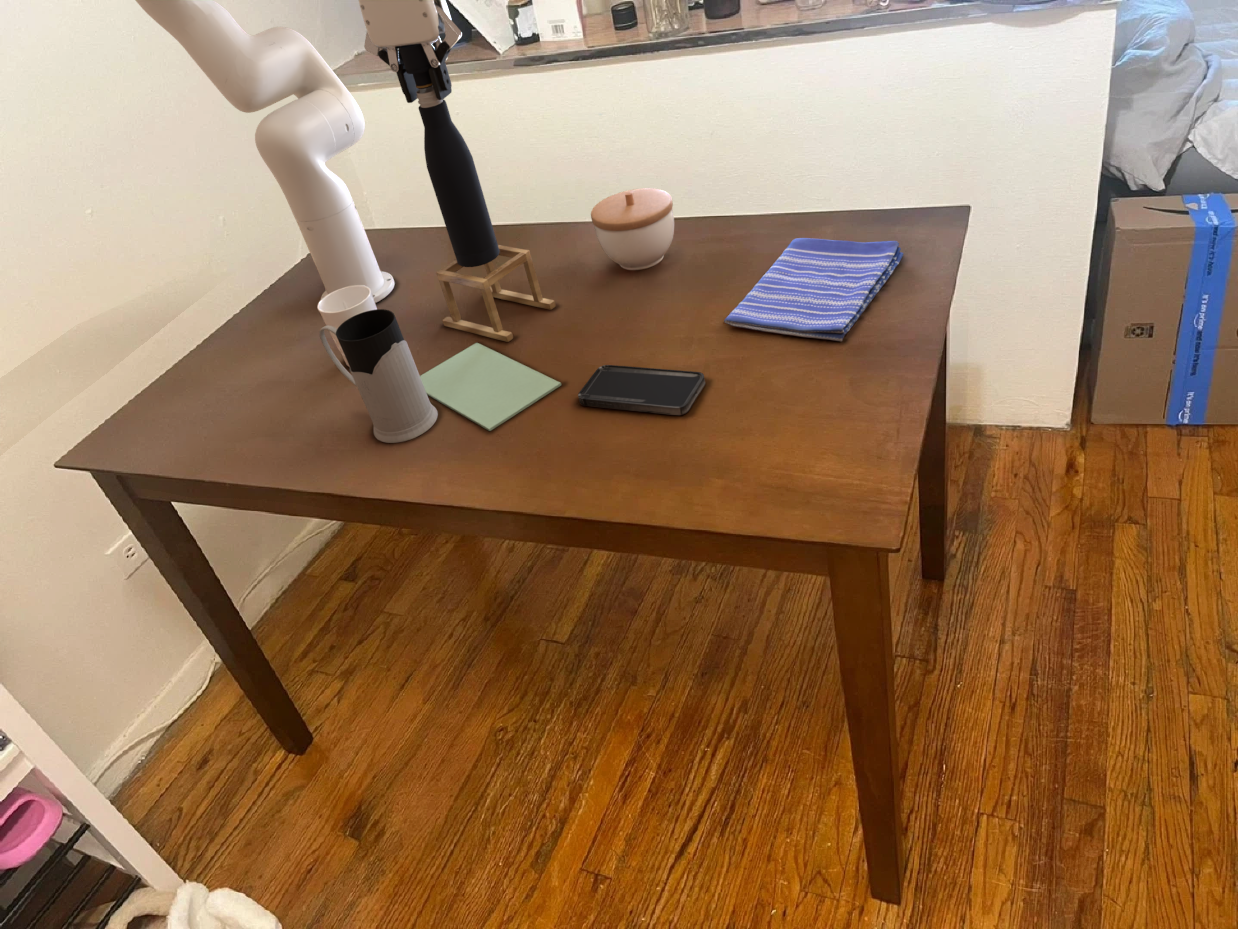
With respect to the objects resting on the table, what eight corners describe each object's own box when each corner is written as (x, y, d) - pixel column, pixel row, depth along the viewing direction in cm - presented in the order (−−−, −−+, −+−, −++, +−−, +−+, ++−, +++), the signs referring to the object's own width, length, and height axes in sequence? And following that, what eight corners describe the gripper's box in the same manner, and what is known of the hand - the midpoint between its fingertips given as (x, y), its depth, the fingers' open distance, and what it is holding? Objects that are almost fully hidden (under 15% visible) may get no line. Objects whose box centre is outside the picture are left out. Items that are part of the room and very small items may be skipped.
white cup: (404, 344, 143) (381, 285, 137) (373, 373, 138) (348, 313, 132) (363, 341, 147) (339, 284, 141) (332, 369, 141) (306, 311, 135)
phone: (600, 364, 125) (706, 372, 118) (602, 371, 126) (708, 379, 119) (574, 398, 120) (683, 409, 113) (576, 405, 120) (685, 416, 114)
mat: (409, 384, 133) (408, 382, 133) (477, 344, 139) (476, 342, 138) (489, 431, 120) (489, 428, 120) (561, 385, 125) (560, 382, 125)
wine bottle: (492, 265, 135) (427, 46, 117) (451, 269, 137) (381, 54, 119) (505, 244, 140) (444, 31, 122) (465, 248, 142) (399, 38, 124)
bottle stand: (444, 325, 146) (424, 271, 140) (491, 292, 151) (475, 239, 146) (508, 342, 137) (490, 285, 132) (556, 306, 143) (541, 250, 138)
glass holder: (408, 448, 121) (365, 347, 112) (332, 429, 128) (287, 333, 119) (450, 409, 126) (414, 310, 117) (375, 392, 133) (335, 299, 124)
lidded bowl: (682, 270, 144) (671, 201, 138) (601, 284, 146) (586, 217, 139) (679, 235, 154) (668, 169, 148) (603, 248, 156) (589, 184, 149)
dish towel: (906, 256, 134) (906, 237, 132) (845, 344, 119) (844, 325, 118) (793, 247, 143) (791, 230, 141) (723, 329, 128) (720, 310, 127)
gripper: (457, -75, 113) (497, 82, 124) (340, -55, 119) (389, 93, 130) (429, -60, 108) (474, 102, 119) (308, -40, 114) (362, 113, 125)
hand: (429, 96), depth 125 cm, fingers closed on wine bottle, 3 cm apart
